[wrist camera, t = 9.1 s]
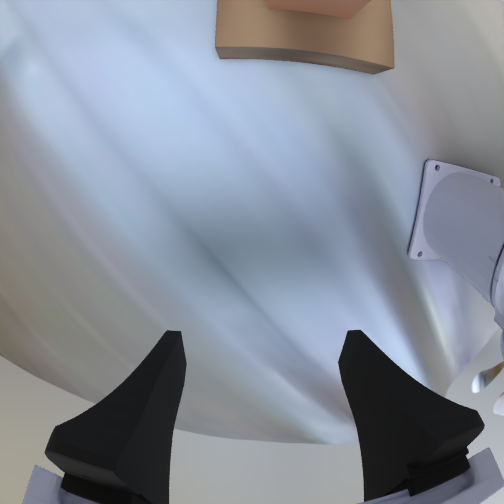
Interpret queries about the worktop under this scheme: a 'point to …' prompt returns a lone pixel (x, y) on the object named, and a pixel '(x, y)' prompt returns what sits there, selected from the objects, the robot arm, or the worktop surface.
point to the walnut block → (306, 35)
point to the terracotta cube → (321, 6)
